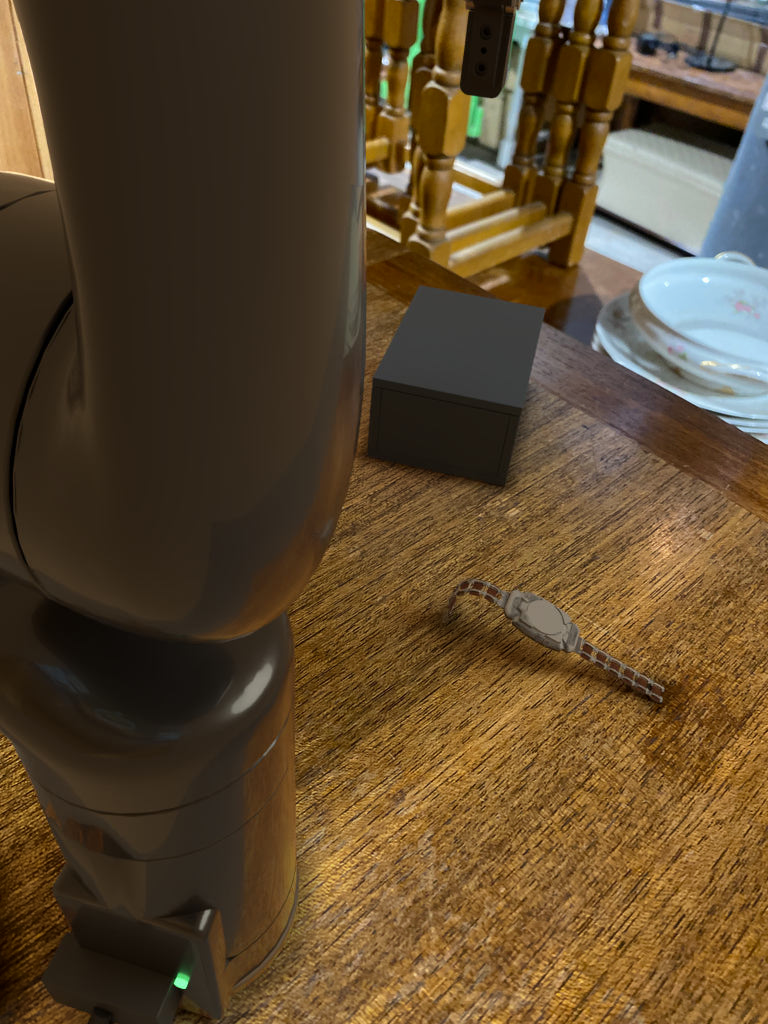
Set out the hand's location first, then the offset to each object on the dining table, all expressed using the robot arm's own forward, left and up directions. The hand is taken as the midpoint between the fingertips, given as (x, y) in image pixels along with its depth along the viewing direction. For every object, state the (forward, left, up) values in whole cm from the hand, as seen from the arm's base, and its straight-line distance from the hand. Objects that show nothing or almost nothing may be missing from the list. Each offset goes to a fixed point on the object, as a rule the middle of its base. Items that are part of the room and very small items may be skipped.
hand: (481, 93), depth 41 cm
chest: (+12, 0, -29) cm, 31 cm away
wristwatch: (-12, -11, -29) cm, 33 cm away
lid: (+12, 0, -22) cm, 25 cm away
